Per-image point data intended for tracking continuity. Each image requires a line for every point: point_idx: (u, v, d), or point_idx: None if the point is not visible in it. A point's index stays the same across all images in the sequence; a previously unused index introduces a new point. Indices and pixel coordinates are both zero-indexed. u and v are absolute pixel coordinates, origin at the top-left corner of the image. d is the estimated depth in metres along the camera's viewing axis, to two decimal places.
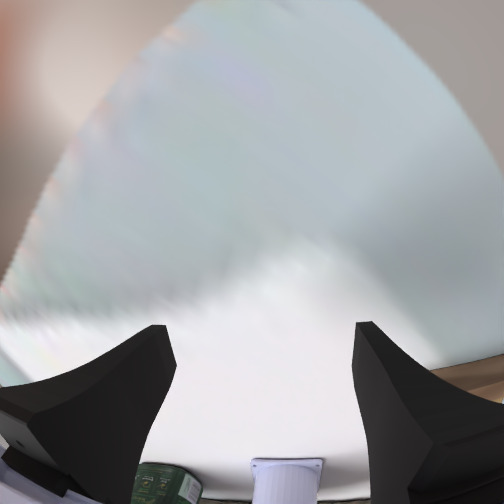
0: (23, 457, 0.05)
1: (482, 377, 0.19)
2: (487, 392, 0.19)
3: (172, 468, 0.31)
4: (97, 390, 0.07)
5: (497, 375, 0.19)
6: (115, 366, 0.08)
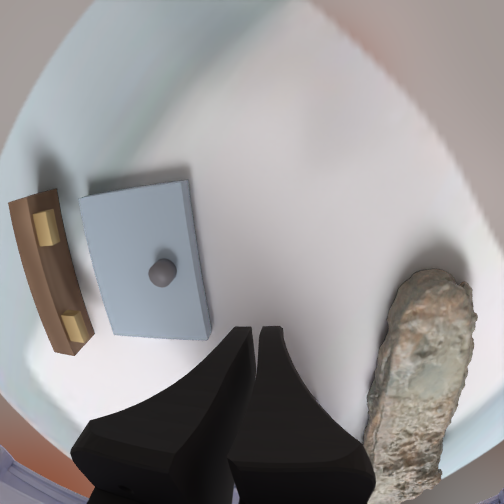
0: (121, 501, 0.04)
1: None
2: (28, 259, 0.19)
3: None
4: (214, 407, 0.06)
5: None
6: (223, 376, 0.07)
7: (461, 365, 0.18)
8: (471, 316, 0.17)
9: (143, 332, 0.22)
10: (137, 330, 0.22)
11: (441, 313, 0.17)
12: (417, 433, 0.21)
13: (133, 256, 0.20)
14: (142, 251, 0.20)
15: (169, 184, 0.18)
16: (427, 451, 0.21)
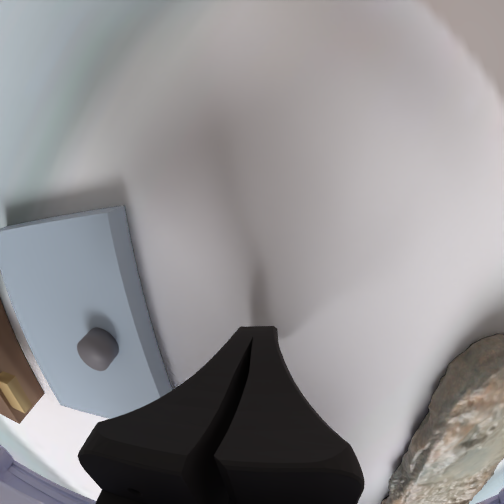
0: (129, 503, 0.04)
1: None
2: None
3: None
4: (223, 408, 0.06)
5: None
6: (231, 377, 0.07)
7: None
8: None
9: (92, 409, 0.14)
10: (85, 406, 0.14)
11: (503, 398, 0.09)
12: None
13: (60, 319, 0.12)
14: (69, 314, 0.12)
15: (91, 216, 0.10)
16: None
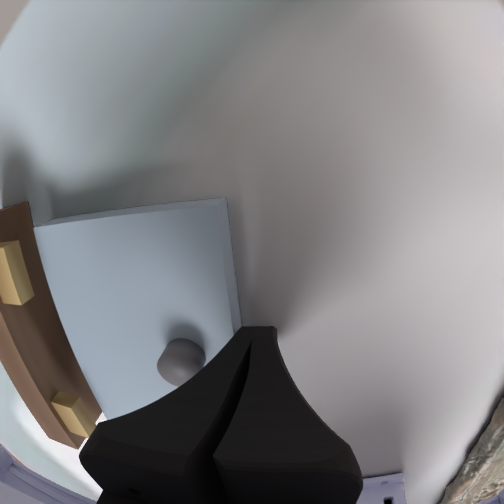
0: None
1: None
2: None
3: None
4: (224, 408, 0.06)
5: None
6: (232, 377, 0.07)
7: None
8: None
9: None
10: None
11: None
12: (503, 483, 0.12)
13: (127, 329, 0.11)
14: (143, 324, 0.11)
15: (192, 209, 0.09)
16: None
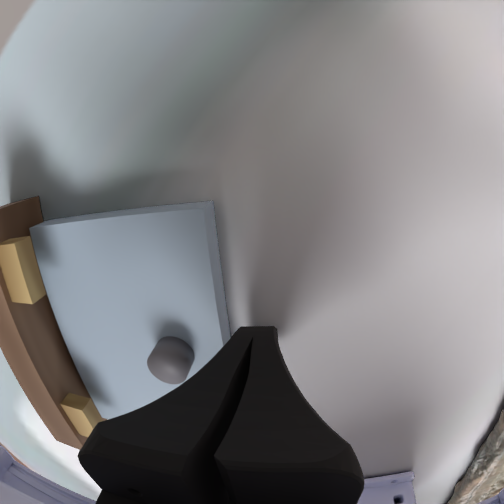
0: (129, 503, 0.04)
1: None
2: None
3: None
4: (223, 408, 0.06)
5: None
6: (231, 377, 0.07)
7: None
8: None
9: None
10: None
11: None
12: None
13: (119, 327, 0.11)
14: (134, 322, 0.11)
15: (180, 211, 0.10)
16: None
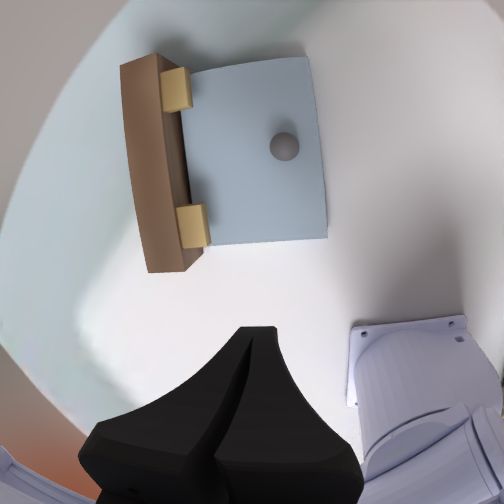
0: (129, 503, 0.04)
1: None
2: (139, 131, 0.16)
3: None
4: (223, 408, 0.06)
5: None
6: (231, 377, 0.07)
7: None
8: None
9: (243, 236, 0.19)
10: (235, 234, 0.19)
11: None
12: None
13: (244, 133, 0.17)
14: (257, 127, 0.17)
15: (295, 57, 0.15)
16: None
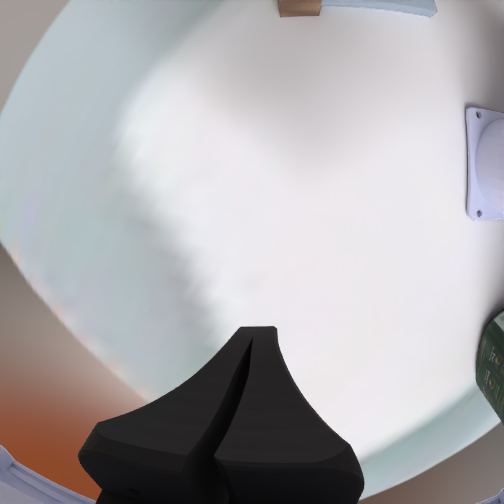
0: (129, 503, 0.04)
1: None
2: None
3: (483, 337, 0.20)
4: (223, 408, 0.06)
5: None
6: (231, 377, 0.07)
7: None
8: None
9: None
10: None
11: None
12: None
13: None
14: None
15: None
16: None
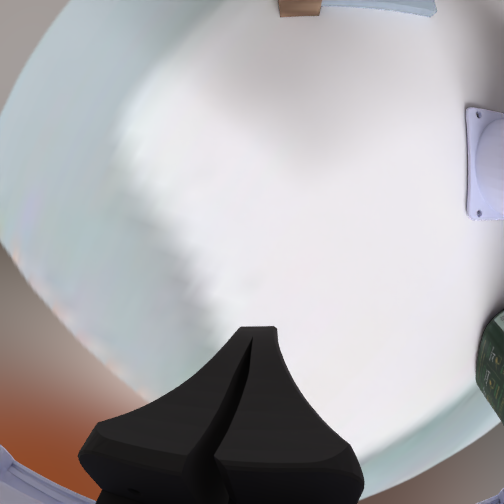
0: (129, 503, 0.04)
1: None
2: None
3: (483, 337, 0.20)
4: (223, 408, 0.06)
5: None
6: (231, 377, 0.07)
7: None
8: None
9: None
10: None
11: None
12: None
13: None
14: None
15: None
16: None
